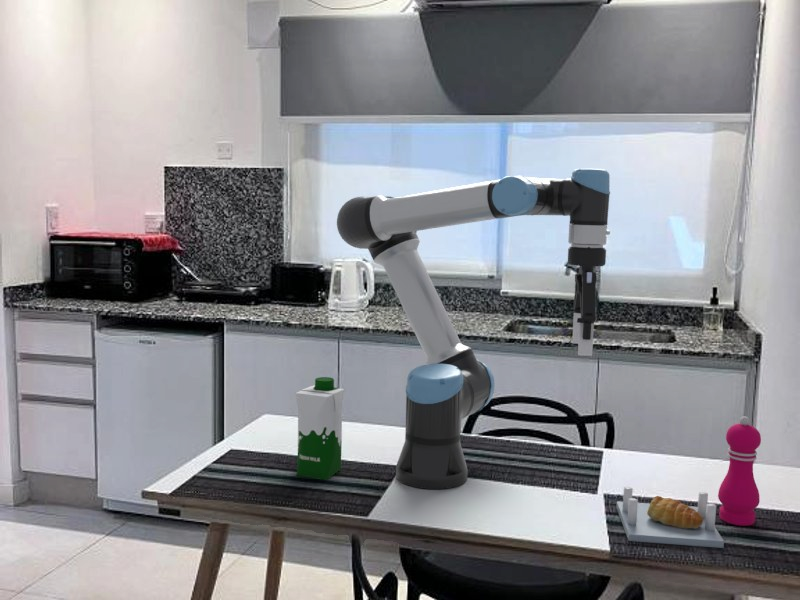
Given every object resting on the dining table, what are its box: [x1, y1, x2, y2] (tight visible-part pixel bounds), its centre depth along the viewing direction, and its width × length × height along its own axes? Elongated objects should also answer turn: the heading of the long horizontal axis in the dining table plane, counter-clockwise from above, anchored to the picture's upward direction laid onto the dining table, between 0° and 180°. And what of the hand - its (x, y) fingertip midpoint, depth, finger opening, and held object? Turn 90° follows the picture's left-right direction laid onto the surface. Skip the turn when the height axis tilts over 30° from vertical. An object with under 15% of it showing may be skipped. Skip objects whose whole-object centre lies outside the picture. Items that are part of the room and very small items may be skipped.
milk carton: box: [295, 376, 345, 481], centre depth 173 cm, size 9×9×20 cm
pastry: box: [647, 495, 704, 529], centre depth 149 cm, size 9×7×4 cm
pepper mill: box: [717, 415, 762, 527], centre depth 153 cm, size 7×7×20 cm
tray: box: [615, 486, 725, 549], centre depth 150 cm, size 16×16×6 cm
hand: (581, 349), depth 168 cm, fingers open, 13 cm apart
